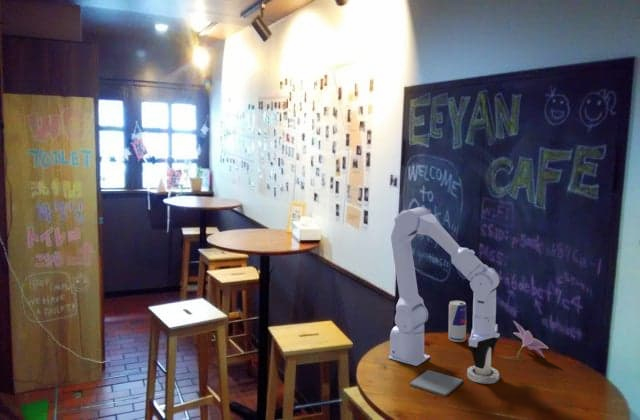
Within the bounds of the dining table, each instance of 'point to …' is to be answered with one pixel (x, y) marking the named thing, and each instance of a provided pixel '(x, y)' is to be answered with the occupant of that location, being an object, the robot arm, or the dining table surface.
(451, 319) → the energy drink
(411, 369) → the dining table surface
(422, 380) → the mat
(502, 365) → the dining table surface
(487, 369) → the peg
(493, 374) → the ring
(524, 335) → the lily
